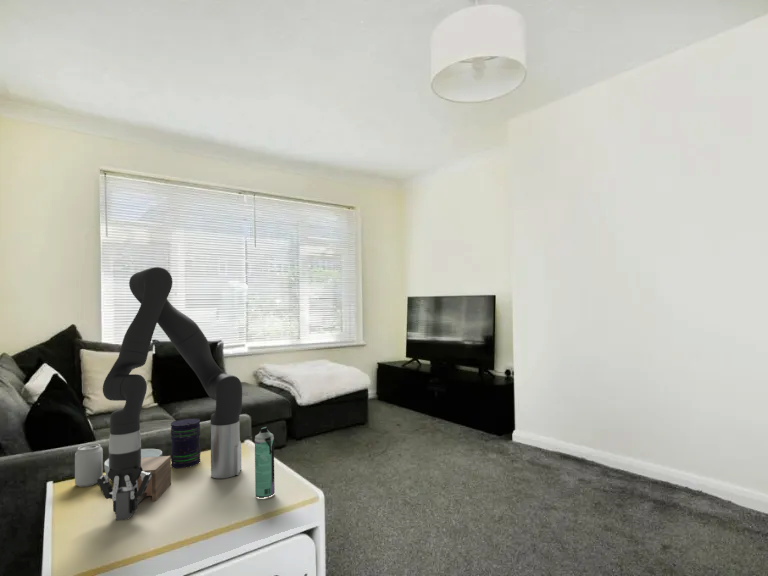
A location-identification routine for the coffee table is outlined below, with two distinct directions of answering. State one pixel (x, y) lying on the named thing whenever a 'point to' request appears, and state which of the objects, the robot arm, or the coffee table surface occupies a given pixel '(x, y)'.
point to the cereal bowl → (143, 454)
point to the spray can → (264, 464)
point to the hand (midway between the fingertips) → (125, 512)
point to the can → (88, 465)
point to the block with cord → (124, 498)
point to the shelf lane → (158, 473)
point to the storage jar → (185, 443)
